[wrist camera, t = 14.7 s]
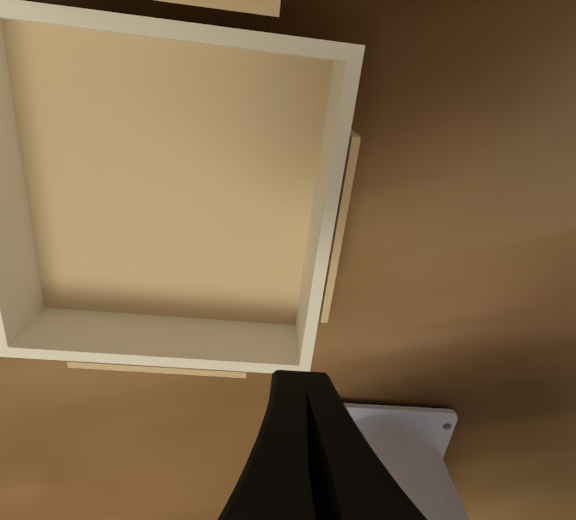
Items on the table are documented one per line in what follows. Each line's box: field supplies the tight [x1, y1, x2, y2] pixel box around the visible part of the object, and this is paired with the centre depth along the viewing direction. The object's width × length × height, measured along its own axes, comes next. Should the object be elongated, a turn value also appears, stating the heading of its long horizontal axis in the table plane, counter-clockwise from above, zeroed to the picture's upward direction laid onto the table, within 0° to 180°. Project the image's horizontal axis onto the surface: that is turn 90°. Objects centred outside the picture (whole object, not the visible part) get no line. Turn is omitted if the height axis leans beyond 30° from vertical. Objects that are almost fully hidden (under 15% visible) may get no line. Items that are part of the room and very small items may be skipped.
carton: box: [0, 0, 365, 378], centre depth 17 cm, size 13×13×4 cm
